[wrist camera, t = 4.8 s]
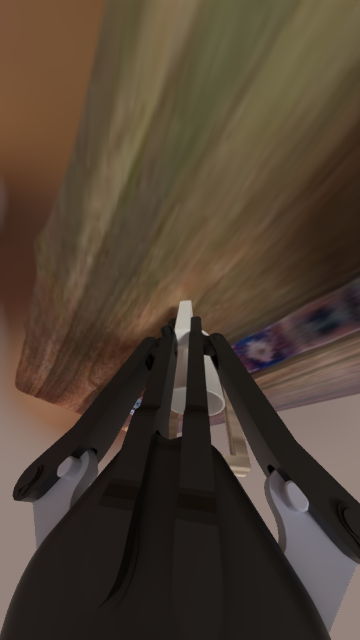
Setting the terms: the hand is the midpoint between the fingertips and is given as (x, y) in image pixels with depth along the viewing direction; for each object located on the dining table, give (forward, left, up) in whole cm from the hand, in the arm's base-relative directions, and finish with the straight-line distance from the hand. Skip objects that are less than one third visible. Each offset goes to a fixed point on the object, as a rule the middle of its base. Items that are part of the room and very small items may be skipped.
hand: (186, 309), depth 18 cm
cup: (+9, 0, -4) cm, 10 cm away
